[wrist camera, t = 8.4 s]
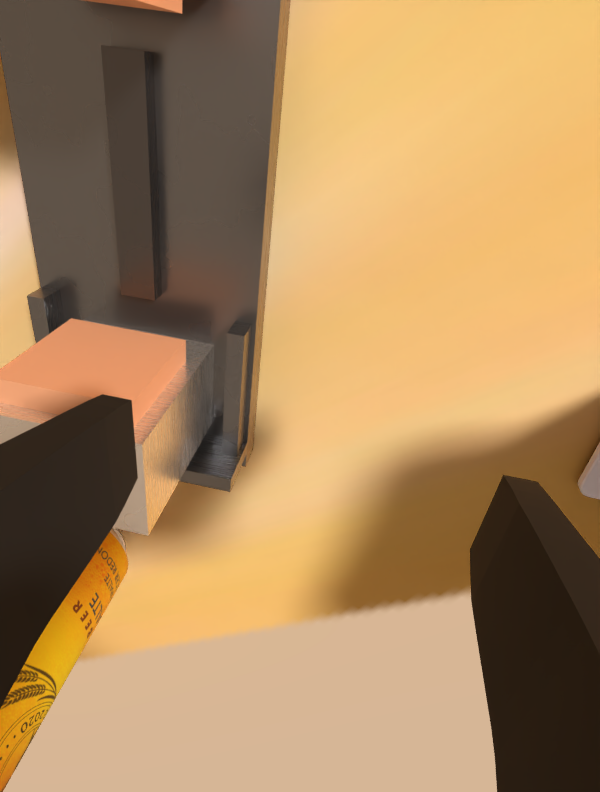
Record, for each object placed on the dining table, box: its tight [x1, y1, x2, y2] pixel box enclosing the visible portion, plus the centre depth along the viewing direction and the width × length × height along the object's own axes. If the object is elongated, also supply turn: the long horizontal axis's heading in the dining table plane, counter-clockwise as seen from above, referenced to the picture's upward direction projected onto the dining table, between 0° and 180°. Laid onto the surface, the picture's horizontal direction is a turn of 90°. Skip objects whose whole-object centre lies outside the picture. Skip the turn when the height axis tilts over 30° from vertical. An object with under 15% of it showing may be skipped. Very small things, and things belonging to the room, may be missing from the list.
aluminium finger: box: [0, 318, 214, 536], centre depth 17 cm, size 4×5×6 cm
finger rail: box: [0, 0, 290, 492], centre depth 14 cm, size 21×8×7 cm, turn 173°
